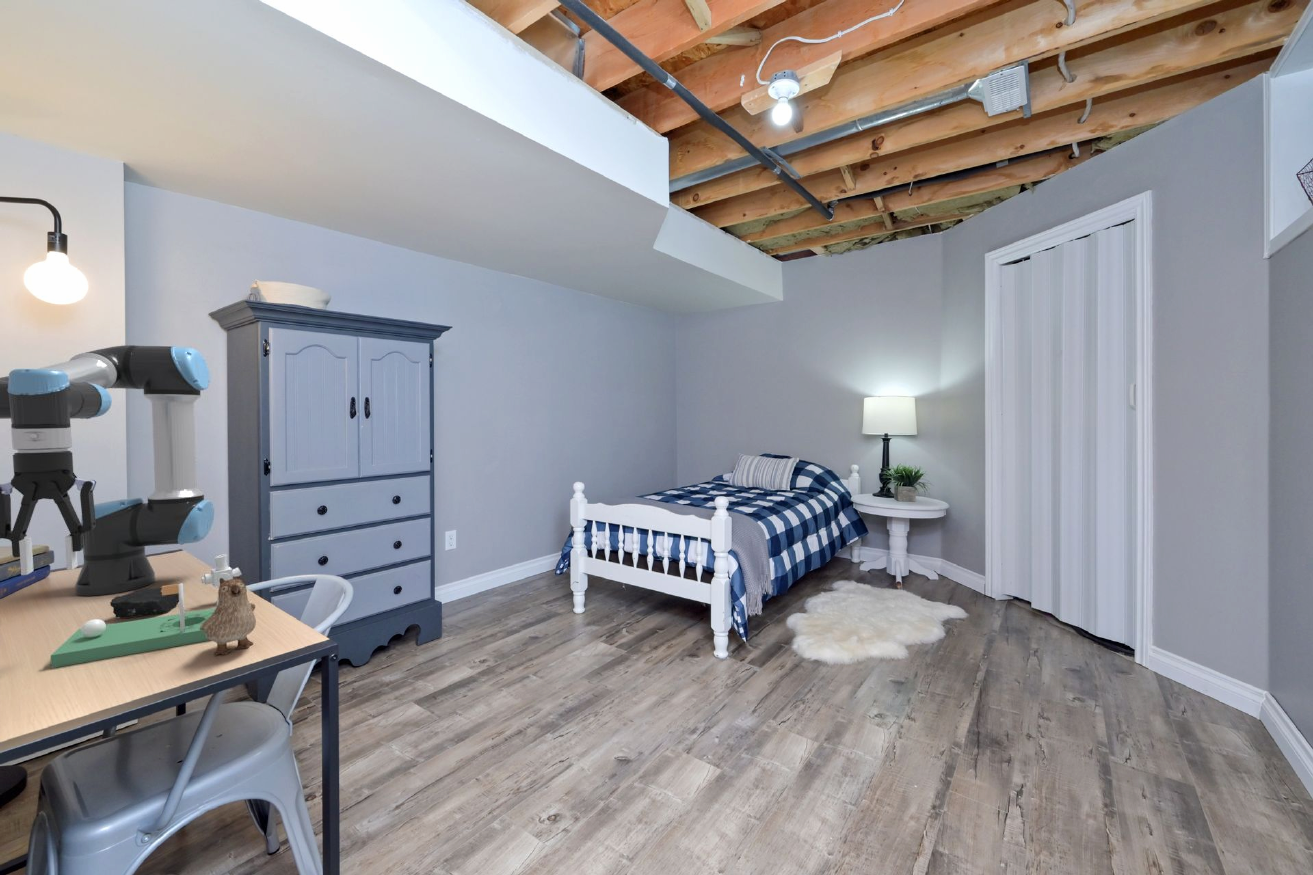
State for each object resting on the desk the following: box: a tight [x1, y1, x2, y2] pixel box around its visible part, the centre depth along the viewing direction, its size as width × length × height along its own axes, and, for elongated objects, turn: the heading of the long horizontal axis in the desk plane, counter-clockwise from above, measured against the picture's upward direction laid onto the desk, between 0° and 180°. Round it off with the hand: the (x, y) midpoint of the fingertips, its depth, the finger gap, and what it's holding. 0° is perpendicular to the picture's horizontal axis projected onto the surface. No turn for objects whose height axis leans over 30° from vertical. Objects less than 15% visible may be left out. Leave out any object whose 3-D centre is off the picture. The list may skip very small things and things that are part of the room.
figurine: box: [199, 574, 257, 656], centre depth 107 cm, size 9×10×15 cm
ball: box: [80, 618, 107, 638], centre depth 108 cm, size 4×4×4 cm
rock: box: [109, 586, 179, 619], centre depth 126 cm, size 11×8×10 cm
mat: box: [50, 583, 217, 669], centre depth 112 cm, size 14×24×12 cm, turn 122°
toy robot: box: [201, 553, 243, 607], centre depth 133 cm, size 4×8×12 cm, turn 138°
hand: (50, 570), depth 104 cm, fingers open, 5 cm apart
